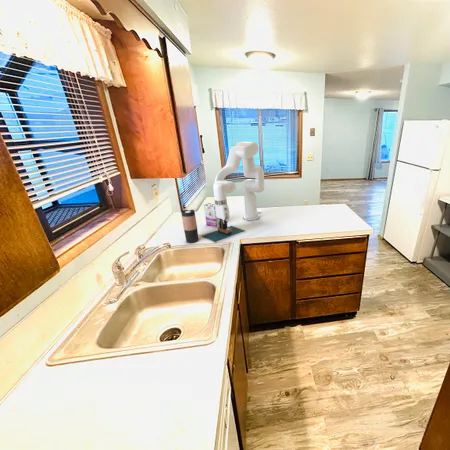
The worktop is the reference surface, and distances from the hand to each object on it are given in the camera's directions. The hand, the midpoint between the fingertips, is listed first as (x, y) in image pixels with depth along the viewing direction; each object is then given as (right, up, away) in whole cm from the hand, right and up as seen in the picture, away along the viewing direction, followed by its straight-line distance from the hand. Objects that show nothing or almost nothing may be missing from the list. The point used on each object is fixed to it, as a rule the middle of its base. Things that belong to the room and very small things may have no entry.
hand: (223, 227), depth 163 cm
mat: (0, -4, +2) cm, 5 cm away
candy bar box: (-13, +1, +17) cm, 21 cm away
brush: (0, -3, +2) cm, 4 cm away
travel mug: (-17, -8, -10) cm, 21 cm away
